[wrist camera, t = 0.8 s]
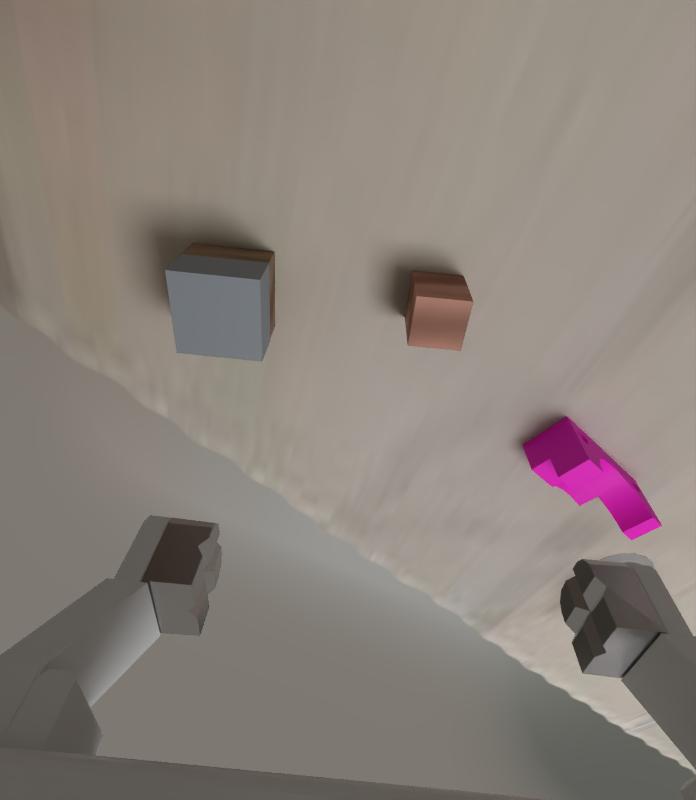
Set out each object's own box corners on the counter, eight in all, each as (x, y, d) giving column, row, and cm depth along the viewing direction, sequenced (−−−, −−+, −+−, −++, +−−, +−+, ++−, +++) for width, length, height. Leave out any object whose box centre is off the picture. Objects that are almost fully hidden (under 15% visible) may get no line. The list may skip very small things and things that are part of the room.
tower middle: (181, 253, 43) (164, 270, 40) (269, 263, 43) (260, 279, 40) (190, 332, 48) (176, 352, 44) (270, 340, 48) (262, 361, 45)
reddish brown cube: (412, 270, 47) (416, 296, 42) (463, 275, 47) (473, 301, 42) (404, 317, 50) (407, 345, 45) (452, 321, 50) (460, 350, 45)
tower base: (193, 242, 46) (179, 256, 43) (275, 250, 46) (267, 265, 43) (201, 317, 51) (189, 334, 48) (275, 324, 51) (268, 342, 48)
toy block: (522, 444, 59) (538, 488, 53) (566, 415, 56) (589, 459, 50) (590, 502, 64) (612, 549, 58) (634, 479, 61) (662, 525, 55)
